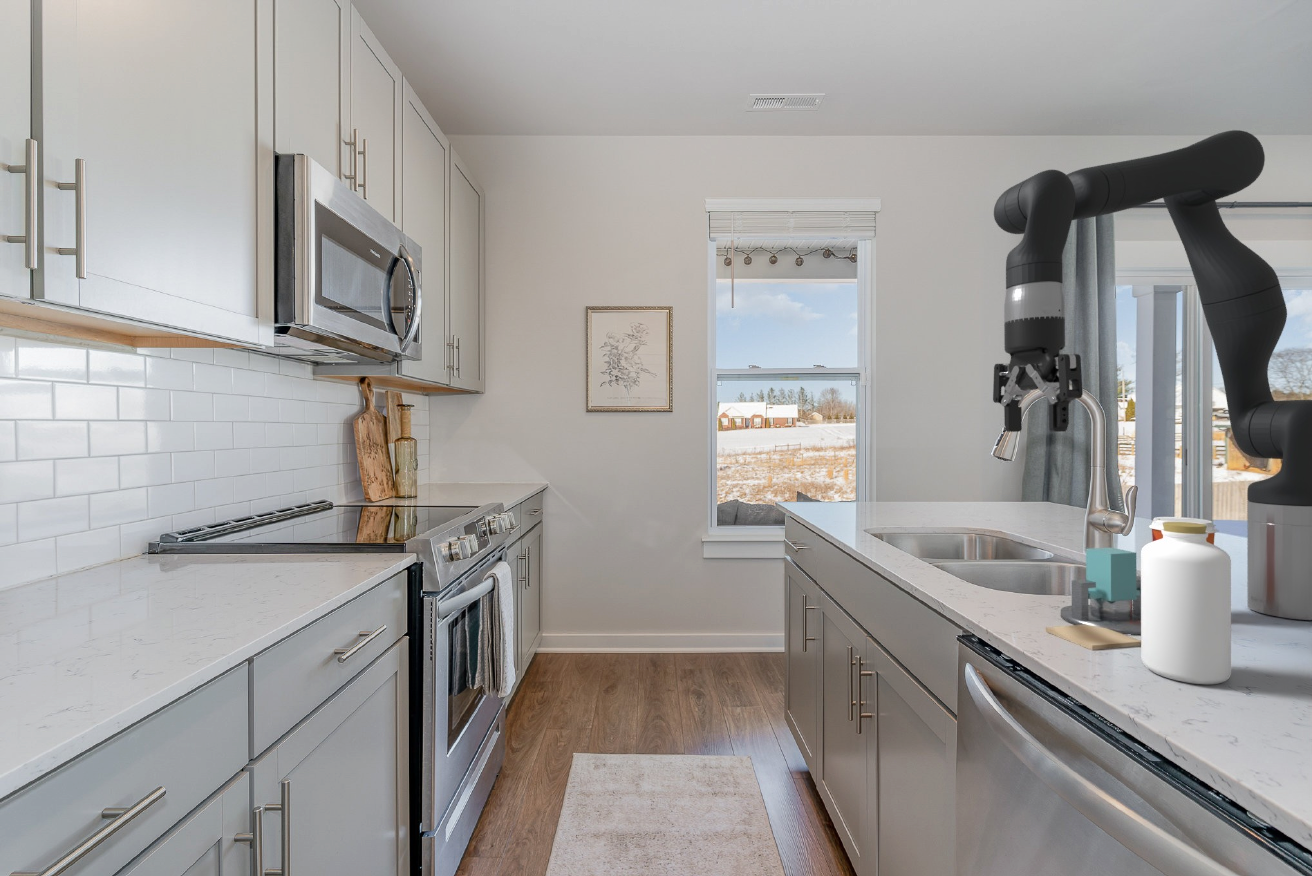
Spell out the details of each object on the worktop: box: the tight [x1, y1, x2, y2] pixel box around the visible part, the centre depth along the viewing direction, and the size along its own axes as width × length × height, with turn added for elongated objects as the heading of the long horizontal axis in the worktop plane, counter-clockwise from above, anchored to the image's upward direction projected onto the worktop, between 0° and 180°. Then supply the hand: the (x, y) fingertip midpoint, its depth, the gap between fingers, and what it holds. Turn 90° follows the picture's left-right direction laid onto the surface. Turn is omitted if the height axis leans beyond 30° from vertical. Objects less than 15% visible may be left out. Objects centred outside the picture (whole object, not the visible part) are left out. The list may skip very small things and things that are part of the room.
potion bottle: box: [1140, 522, 1232, 685], centre depth 77 cm, size 8×8×18 cm
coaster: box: [1045, 624, 1141, 651], centre depth 91 cm, size 8×8×1 cm
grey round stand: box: [1060, 575, 1141, 636], centre depth 98 cm, size 13×13×6 cm
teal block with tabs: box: [1085, 547, 1140, 601], centre depth 98 cm, size 9×4×7 cm, turn 100°
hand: (1034, 431), depth 93 cm, fingers open, 8 cm apart
